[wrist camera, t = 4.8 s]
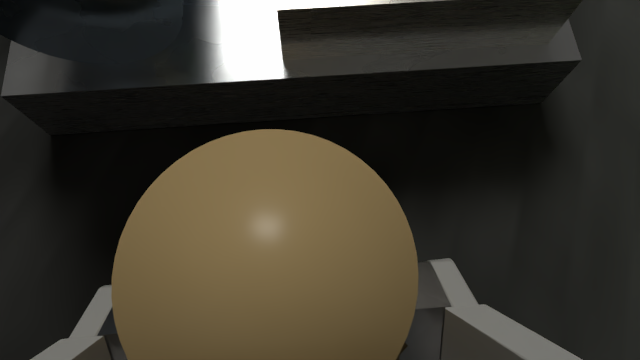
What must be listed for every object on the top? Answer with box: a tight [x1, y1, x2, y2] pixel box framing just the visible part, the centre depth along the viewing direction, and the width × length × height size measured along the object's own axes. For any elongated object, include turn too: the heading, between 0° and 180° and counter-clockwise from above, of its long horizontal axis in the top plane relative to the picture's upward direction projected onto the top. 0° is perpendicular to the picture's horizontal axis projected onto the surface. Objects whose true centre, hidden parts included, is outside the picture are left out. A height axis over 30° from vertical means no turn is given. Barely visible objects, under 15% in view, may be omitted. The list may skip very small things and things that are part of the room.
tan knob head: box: [111, 129, 419, 360], centre depth 11 cm, size 5×5×10 cm
